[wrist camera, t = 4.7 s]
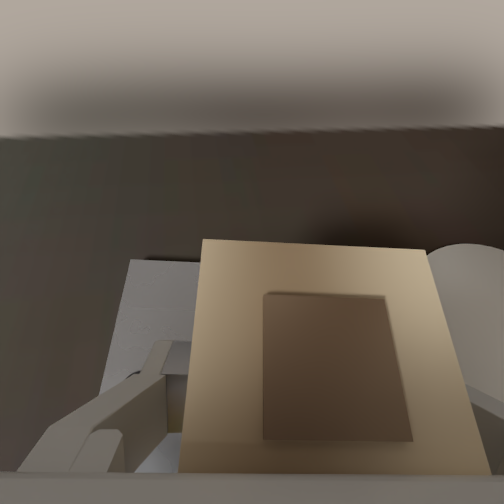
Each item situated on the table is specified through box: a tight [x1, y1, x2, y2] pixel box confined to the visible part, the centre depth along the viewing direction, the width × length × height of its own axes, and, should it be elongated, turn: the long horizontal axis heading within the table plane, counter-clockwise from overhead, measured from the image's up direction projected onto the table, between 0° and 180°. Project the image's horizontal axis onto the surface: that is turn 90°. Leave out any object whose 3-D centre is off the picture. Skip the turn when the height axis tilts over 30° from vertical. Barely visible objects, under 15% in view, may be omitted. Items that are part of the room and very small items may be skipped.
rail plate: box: [99, 259, 200, 473], centre depth 13 cm, size 14×12×1 cm
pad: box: [427, 244, 504, 403], centre depth 15 cm, size 10×10×1 cm
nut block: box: [178, 239, 492, 475], centre depth 9 cm, size 5×5×9 cm
